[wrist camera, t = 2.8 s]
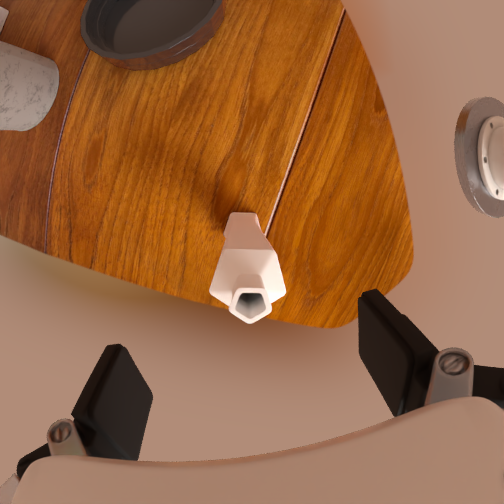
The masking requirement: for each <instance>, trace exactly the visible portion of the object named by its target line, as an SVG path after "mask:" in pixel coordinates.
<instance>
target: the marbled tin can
mask: <svg viewBox="0 0 504 504" xmlns="http://www.w3.org/2000/svg"><path fill="white" fill-rule="evenodd" d="M58 87H59V71H58V68H57V65H56V64H55V62H54V61H53V60H51V59H49V58H45V57H43V56H40V55H38V54H35V53H33V52H30V51H27V50H25V49H22V48H19V47H17V46H14V45H11V44H8V43H5V42H2V41H0V130H18V131H26V130H29V129H32V128H33V127H34V126H36V125H37V124H38V123H39V122H40V121H42V120H43V118H44V117H45V116H46V114H47V113H48V112H49V110H50V108H51V106H52V104H53V102H54V100H55V97H56V94H57V90H58Z"/></svg>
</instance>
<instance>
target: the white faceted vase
mask: <svg viewBox="0 0 504 504" xmlns="http://www.w3.org/2000/svg"><path fill="white" fill-rule="evenodd" d="M223 235H224V236H225V237H226V240H225V243H224V246H223V249H222V252H221V255H220V258H219V261H218V265H217V268H216V271H215V274H214V277H213V280H212V283H211V286H210V290H209V292H210V294H211V295H213V296H214V297H216V298H217V299H219V300H220V301H222V302H223V303H225V304H226V305H228V306H229V311H230V312H231V313H232V314H234V315H235V316H237V317H238V318H240V319H241V320H243V321H245V322H246V323H253V322H255V321H257V320H259V319H261V318H262V317H264V316H266V315H267V314H269V313H270V312H271V311H272V306H271V303H272V302H274V301H276V300H277V299H279V298H281V297H282V296H284V295H285V293H286V289H285V285H284V281H283V277H282V273H281V269H280V266H279V262H278V258H277V254H276V252H275V250H274V249H273V247H272V246H271V244H270V243H269V241H268V240H267V238H266V237H265V235H264V234H263V232H262V231H261V228H260V224H259V221H258V217H257V214H256V213H240V212H233V213H231V214H230V216H229V219H228V222H227V225H226V228H225V230H224V233H223Z"/></svg>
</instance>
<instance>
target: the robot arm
mask: <svg viewBox="0 0 504 504" xmlns="http://www.w3.org/2000/svg"><path fill="white" fill-rule="evenodd" d="M477 153H478V164H479V170H480V174H481V178H482V180H483V183H484V185H485V187H486V189H487V191H488V192H489V193H490V195H492V196H493V197H494V198H496V199H499V200H504V118H503V117H500V116H492V117H489V118H488V119H486V120H485V122H484V123H483V125H482V127H481V129H480V133H479V138H478V152H477ZM358 323H359V354H360V357H361V359H362V361H363V363H364V364H365V366H366V368H367V370H368V372H369V373H370V375H371V376H372V379H373V380H374V382H375V384H376V385H377V387H378V389H379V391H380V392H381V394H382V396H383V398H384V400H385V401H386V403H387V405H388V407H389V408H390V411H391V412H392V414H393V416H394V417H395V418H392V419H390V420H387V421H385V422H382V423H379V424H376V425H374V426H371V427H368V428H365V429H362V430H359V431H356V432H353V433H350V434H346V435H343V436H340V437H336V438H333V439H329V440H326V441H323V442H318V443H315V444H311V445H307V446H302V447H298V448H293V449H289V450H283V451H278V452H273V453H267V454H261V455H254V456H248V457H240V458H231V459H220V460H208V461H186V462H152V461H137V460H138V458H139V453H140V449H141V444H142V440H143V436H144V432H145V428H146V423H147V420H148V416H149V411H150V408H151V404H152V400H153V395H152V392H151V390H150V388H149V387H148V385H147V383H146V382H145V380H144V378H143V377H142V375H141V373H140V372H139V370H138V368H137V366H136V365H135V363H134V361H133V359H132V357H131V356H130V354H129V352H128V350H127V349H126V348H125V347H123V346H122V345H121V344H113V345H107V347H106V348H105V350H104V352H103V353H102V355H101V357H100V359H99V361H98V363H97V364H96V366H95V368H94V370H93V372H92V374H91V375H90V377H89V379H88V381H87V383H86V385H85V387H84V389H83V391H82V393H81V395H80V397H79V399H78V401H77V403H76V405H75V407H74V409H73V411H72V413H71V415H72V416H73V417H74V418H75V419H74V421H71V420H70V419H66V418H65V419H60V420H57V421H56V422H54V423H53V424H52V425H51V426H50V428H49V430H48V432H47V441H48V443H47V444H45V445H43V446H41V447H40V448H38V449H36V450H35V451H33V452H31V453H29V454H28V455H26V456H24V457H23V458H21V459H20V460H19V462H18V465H17V475H16V474H15V473H14V474H13V475H12V476H11V477H10V478H9V479H8V480H7V481H6V482H5V483H4V484H3V485H2V486H1V487H0V504H504V368H496V367H487V366H479V365H474V362H473V358H472V356H471V355H470V354H469V353H468V352H467V351H465V350H463V349H460V348H447V349H444V350H442V351H440V352H439V351H438V350H437V348H436V347H435V346H434V345H433V344H432V343H431V342H430V341H429V340H428V339H427V338H426V337H425V336H424V334H423V333H422V332H421V331H420V330H419V329H418V328H417V327H416V326H415V325H414V324H413V323H412V322H411V321H410V320H409V319H408V317H406V316H405V315H403V314H401V313H400V312H399V311H398V310H397V309H396V308H395V307H394V306H393V305H392V304H391V303H390V302H389V301H388V300H387V299H386V298H385V297H384V296H383V295H382V294H381V293H380V292H379V291H378V290H377V289H373V290H369V291H366V292H363V293H362V295H361V297H359V298H358Z"/></svg>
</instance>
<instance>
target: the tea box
mask: <svg viewBox="0 0 504 504" xmlns="http://www.w3.org/2000/svg"><path fill="white" fill-rule="evenodd" d="M8 14H9V11H8V10H6V9H4V8H3V7H1V6H0V33H1V31H2V28H3V25H4V23H5V21H6V18H7V16H8Z"/></svg>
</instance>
